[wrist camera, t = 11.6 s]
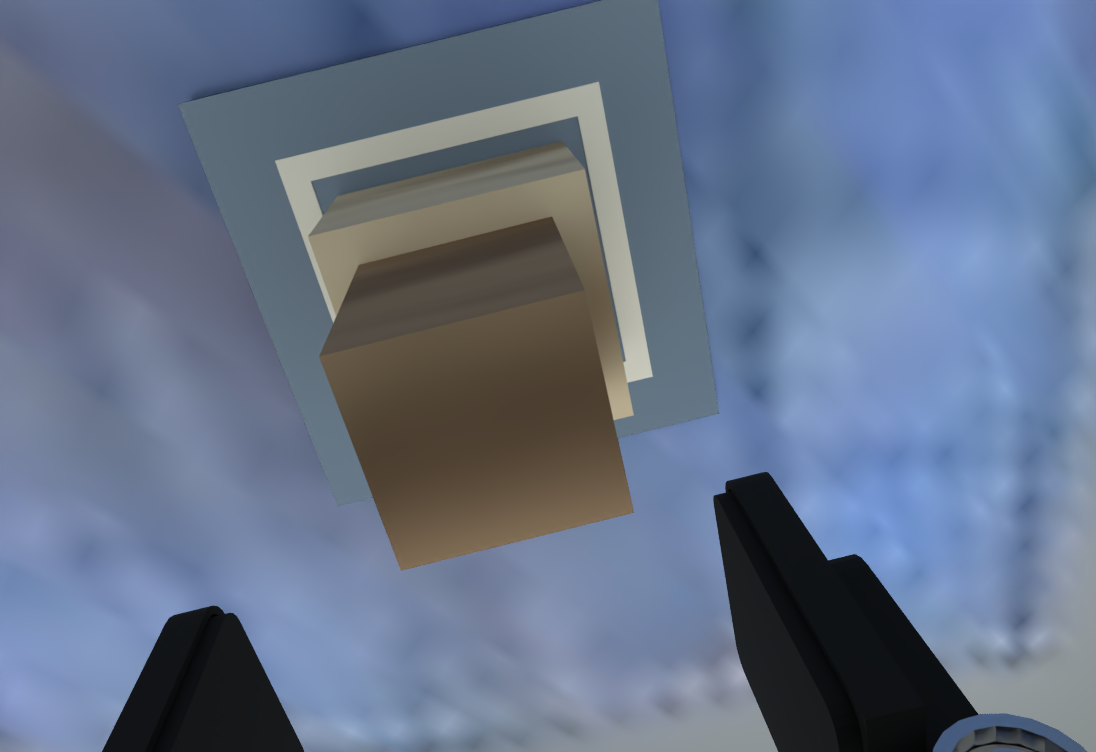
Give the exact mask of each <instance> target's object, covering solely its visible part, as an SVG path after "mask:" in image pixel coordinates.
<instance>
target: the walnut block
mask: <svg viewBox="0 0 1096 752" xmlns="http://www.w3.org/2000/svg"><path fill="white" fill-rule="evenodd" d="M319 358H320V361H321V363H322V366H323V368H324V371H325V374H326V376H327V379H328V381H329V384H330V387H331V389H332V392H333V394H334V397H335V400H336V402H337V405H338V408H339V410H340V413H341V415H342V418H343V421H344V423H345V426H346V428H347V431H348V434H349V436H350V439H351V441H352V444H353V447H354V449H355V452H356V454H357V457H358V460H359V462H360V465H361V467H362V470H363V473H364V475H365V478H366V480H367V483H368V486H369V488H370V491H371V493H372V496H373V499H374V501H375V504H376V507H377V509H378V512H379V514H380V517H381V520H382V522H383V525H384V527H385V530H386V533H387V535H388V538H389V540H390V543H391V546H392V548H393V551H394V553H395V556H396V559H397V561H398V564H399V566H400V569H401V570H405V569H409V568H413V567H417V566H421V565H425V564H429V563H433V562H437V561H441V560H445V559H450V558H454V557H458V556H462V555H466V554H470V553H474V552H478V551H482V550H486V549H490V548H494V547H498V546H502V545H506V544H510V543H514V542H518V541H522V540H526V539H530V538H534V537H538V536H542V535H546V534H550V533H554V532H558V531H562V530H566V529H570V528H574V527H578V526H582V525H586V524H590V523H594V522H598V521H602V520H606V519H610V518H614V517H618V516H622V515H626V514H630V513H634V511H633V506H632V501H631V497H630V492H629V488H628V483H627V479H626V474H625V470H624V465H623V461H622V456H621V452H620V447H619V442H618V438H617V433H616V429H615V424H614V420H613V415H612V411H611V406H610V402H609V397H608V393H607V388H606V383H605V379H604V374H603V370H602V365H601V361H600V356H599V352H598V347H597V343H596V338H595V333H594V329H593V324H592V320H591V315H590V311H589V306H588V302H587V297H586V293H585V289H584V287H583V285H582V282H581V280H580V278H579V276H578V273H577V271H576V269H575V267H574V264H573V262H572V260H571V258H570V255H569V253H568V251H567V249H566V246H565V244H564V242H563V240H562V238H561V235H560V233H559V231H558V229H557V226H556V224H555V222H554V220H553V217H548V218H544V219H540V220H536V221H532V222H528V223H524V224H520V225H516V226H512V227H508V228H504V229H500V230H496V231H492V232H488V233H484V234H480V235H476V236H472V237H468V238H464V239H460V240H456V241H452V242H448V243H444V244H440V245H436V246H432V247H428V248H424V249H420V250H416V251H412V252H408V253H404V254H400V255H396V256H392V257H388V258H384V259H381V260H377V261H373V262H369V263H365V264H361V265H358V267H357V270H356V272H355V274H354V277H353V279H352V281H351V284H350V286H349V288H348V291H347V293H346V295H345V298H344V300H343V302H342V304H341V307H340V309H339V311H338V314H337V316H336V318H335V321H334V323H333V325H332V328H331V330H330V332H329V335H328V337H327V339H326V342H325V344H324V346H323V348H322V351H321V353H320V355H319Z"/></svg>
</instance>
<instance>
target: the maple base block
mask: <svg viewBox="0 0 1096 752" xmlns="http://www.w3.org/2000/svg"><path fill="white" fill-rule="evenodd" d="M548 217H553V220H554V222H555V224H556V226H557V229H558V231H559V233H560V235H561V238H562V240H563V242H564V244H565V246H566V249H567V251H568V253H569V255H570V258H571V260H572V262H573V264H574V267H575V269H576V271H577V273H578V276H579V278H580V280H581V282H582V285H583V287H584V289H585V293H586V297H587V302H588V306H589V311H590V315H591V320H592V324H593V329H594V333H595V338H596V343H597V347H598V352H599V356H600V361H601V365H602V370H603V374H604V379H605V383H606V388H607V393H608V397H609V402H610V406H611V411H612V415H613V420H617V419H621V418H625V417H629V416H633V415H634V414H633V409H632V404H631V399H630V394H629V389H628V384H627V379H626V374H625V369H624V364H623V358H622V353H621V348H620V343H619V338H618V333H617V328H616V323H615V318H614V313H613V308H612V303H611V298H610V293H609V288H608V283H607V278H606V273H605V268H604V263H603V258H602V253H601V248H600V243H599V238H598V233H597V228H596V222H595V217H594V212H593V207H592V202H591V197H590V192H589V187H588V182H587V177H586V172H585V169H584V167H583V166H582V165H581V164H580V162H579V161H578V160H577V159H576V157H575V156H574V155H573V154H572V153H571V151H570V150H569V149H568V148H567V146H566V145H565V144H564V143H563V141H560V142H556V143H552V144H548V145H544V146H540V147H536V148H532V149H527V150H523V151H519V152H515V153H511V154H507V155H503V156H499V157H495V158H491V159H486V160H482V161H478V162H474V163H470V164H466V165H462V166H458V167H454V168H449V169H445V170H441V171H437V172H433V173H429V174H425V175H421V176H417V177H413V178H408V179H404V180H400V181H396V182H392V183H388V184H384V185H380V186H376V187H372V188H367V189H363V190H359V191H355V192H351V193H347V194H343V195H339V196H337V197H336V198H335V200H334V201H333V202H332V204H331V205H330V207H329V208H328V209H327V211H326V212H325V214H324V215H323V216H322V218H321V219H320V220H319V222H318V223H317V225H316V226H315V227H314V229H313V230H312V232H311V233H310V234H309V236H308V238H309V241H310V244H311V247H312V250H313V252H314V255H315V258H316V261H317V264H318V266H319V269H320V272H321V275H322V278H323V280H324V283H325V286H326V289H327V292H328V294H329V297H330V300H331V303H332V306H333V308H334V311H335V314H336V316H337V314H338V311H339V309H340V307H341V304H342V302H343V300H344V298H345V295H346V293H347V291H348V288H349V286H350V284H351V281H352V279H353V277H354V274H355V272H356V270H357V267H358V265H361V264H365V263H369V262H373V261H377V260H381V259H384V258H388V257H392V256H396V255H400V254H404V253H408V252H412V251H416V250H420V249H424V248H428V247H432V246H436V245H440V244H444V243H448V242H452V241H456V240H460V239H464V238H468V237H472V236H476V235H480V234H484V233H488V232H492V231H496V230H500V229H504V228H508V227H512V226H516V225H520V224H524V223H528V222H532V221H536V220H540V219H544V218H548Z"/></svg>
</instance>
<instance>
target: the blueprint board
mask: <svg viewBox="0 0 1096 752" xmlns="http://www.w3.org/2000/svg"><path fill="white" fill-rule="evenodd" d="M178 107H179V109H180V112H181V114H182V117H183V119H184V122H185V124H186V127H187V129H188V132H189V134H190V137H191V139H192V142H193V144H194V147H195V149H196V152H197V154H198V157H199V159H200V162H201V164H202V167H203V169H204V172H205V174H206V177H207V179H208V182H209V184H210V187H211V189H212V192H213V194H214V197H215V199H216V202H217V204H218V207H219V210H220V212H221V215H222V217H223V220H224V222H225V225H226V227H227V230H228V232H229V235H230V237H231V240H232V242H233V245H234V247H235V250H236V252H237V255H238V257H239V260H240V262H241V265H242V267H243V270H244V272H245V275H246V277H247V280H248V282H249V285H250V287H251V290H252V292H253V295H254V297H255V300H256V302H257V305H258V307H259V310H260V312H261V315H262V317H263V320H264V322H265V325H266V327H267V330H268V332H269V335H270V337H271V340H272V342H273V345H274V347H275V350H276V352H277V355H278V357H279V360H280V362H281V365H282V368H283V370H284V373H285V375H286V378H287V380H288V383H289V385H290V388H291V390H292V393H293V395H294V398H295V400H296V403H297V405H298V408H299V410H300V413H301V415H302V418H303V420H304V423H305V425H306V428H307V430H308V433H309V435H310V438H311V440H312V443H313V445H314V448H315V450H316V453H317V455H318V458H319V460H320V463H321V465H322V468H323V470H324V473H325V475H326V478H327V480H328V483H329V485H330V488H331V490H332V493H333V495H334V498H335V500H336V503H337V505H338V506H340V505H344V504H348V503H352V502H356V501H361V500H365V499H369V498H373V496H372V493H371V491H370V488H369V486H368V483H367V480H366V478H365V475H364V473H363V470H362V467H361V465H360V462H359V460H358V457H357V454H356V452H355V449H354V447H353V444H352V441H351V439H350V436H349V434H348V431H347V428H346V426H345V423H344V421H343V418H342V415H341V413H340V410H339V408H338V405H337V402H336V400H335V397H334V394H333V392H332V389H331V387H330V384H329V381H328V379H327V376H326V374H325V371H324V368H323V366H322V363H321V361H320V358H319V355H320V353H321V351H322V348H323V346H324V344H325V342H326V339H327V337H328V335H329V332H330V330H331V328H332V325H333V323H334V321H335V318H336V314H335V311H334V308H333V306H332V303H331V300H330V297H329V294H328V292H327V289H326V286H325V283H324V280H323V278H322V275H321V272H320V269H319V266H318V264H317V261H316V258H315V255H314V252H313V250H312V247H311V244H310V241H309V238H308V236H309V234H310V233H311V232H312V230H313V229H314V227H315V226H316V225H317V223H318V222H319V220H320V219H321V218H322V216H323V215H324V214H325V212H326V211H327V209H328V208H329V207H330V205H331V204H332V202H333V201H334V200H335V198H336V197H337V196H339V195H343V194H347V193H351V192H355V191H359V190H363V189H367V188H372V187H376V186H380V185H384V184H388V183H392V182H396V181H400V180H404V179H408V178H413V177H417V176H421V175H425V174H429V173H433V172H437V171H441V170H445V169H449V168H454V167H458V166H462V165H466V164H470V163H474V162H478V161H482V160H486V159H491V158H495V157H499V156H503V155H507V154H511V153H515V152H519V151H523V150H527V149H532V148H536V147H540V146H544V145H548V144H552V143H556V142H560V141H563V143H564V144H565V145H566V146H567V148H568V149H569V150H570V151H571V153H572V154H573V155H574V156H575V157H576V159H577V160H578V161H579V162H580V164H581V165H582V166H583V167H584V169H585V172H586V177H587V182H588V187H589V192H590V197H591V202H592V207H593V212H594V217H595V222H596V228H597V233H598V238H599V243H600V248H601V253H602V258H603V263H604V268H605V273H606V278H607V283H608V288H609V293H610V298H611V303H612V308H613V313H614V318H615V323H616V328H617V333H618V338H619V343H620V348H621V353H622V358H623V364H624V369H625V374H626V379H627V384H628V389H629V394H630V399H631V404H632V409H633V414H634V415H633V416H629V417H625V418H621V419H617V420H614V424H615V429H616V433H617V438H620V437H625V436H629V435H633V434H637V433H641V432H645V431H649V430H653V429H658V428H662V427H666V426H670V425H674V424H678V423H682V422H686V421H691V420H695V419H699V418H703V417H707V416H711V415H715V414H719V410H718V403H717V397H716V390H715V383H714V376H713V369H712V363H711V356H710V349H709V342H708V335H707V329H706V322H705V315H704V308H703V301H702V295H701V288H700V281H699V274H698V268H697V261H696V254H695V247H694V240H693V234H692V227H691V220H690V213H689V206H688V200H687V193H686V186H685V179H684V172H683V166H682V159H681V152H680V145H679V138H678V132H677V125H676V118H675V111H674V104H673V98H672V91H671V84H670V77H669V70H668V64H667V57H666V50H665V43H664V36H663V30H662V23H661V16H660V9H659V2H658V0H600V1H596V2H592V3H587V4H583V5H579V6H575V7H571V8H567V9H563V10H559V11H555V12H551V13H547V14H542V15H538V16H534V17H530V18H526V19H522V20H518V21H514V22H510V23H506V24H502V25H497V26H493V27H489V28H485V29H481V30H477V31H473V32H469V33H465V34H461V35H457V36H452V37H448V38H444V39H440V40H436V41H432V42H428V43H424V44H420V45H416V46H412V47H407V48H403V49H399V50H395V51H391V52H387V53H383V54H379V55H375V56H371V57H367V58H362V59H358V60H354V61H350V62H346V63H342V64H338V65H334V66H330V67H326V68H322V69H317V70H313V71H309V72H305V73H301V74H297V75H293V76H289V77H285V78H281V79H277V80H272V81H268V82H264V83H260V84H256V85H252V86H248V87H244V88H240V89H236V90H232V91H227V92H223V93H219V94H215V95H211V96H207V97H203V98H199V99H195V100H191V101H187V102H184V103H180V104H178Z"/></svg>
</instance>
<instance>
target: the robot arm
mask: <svg viewBox="0 0 1096 752" xmlns="http://www.w3.org/2000/svg"><path fill="white" fill-rule="evenodd" d="M725 489H726V493H723V494H719V495H714V508H715V515H716V521H717V527H718V533H719V540H720V546H721V552H722V559H723V565H724V571H725V577H726V584H727V590H728V596H729V603H730V609H731V615H732V622H733V628H734V634H735V640H736V646H737V650H738V654H739V658H740V661H741V664H742V667H743V670H744V673H745V675H746V677H747V680H748V682H749V684H750V687H751V689H752V691H753V694H754V696H755V698H756V701H757V703H758V705H759V708H760V710H761V712H762V715H763V717H764V719H765V722H766V724H767V726H768V728H769V731H770V733H771V736H772V738H773V740H774V743H775V745H776V747H777V750H778V752H1087V751H1086V750H1085V749H1084V748H1083V747H1082V746H1081V745H1080V744H1078V743H1077V742H1075V741H1074V740H1072V739H1071V738H1069V737H1068V736H1066V735H1065V734H1063V733H1062V732H1061V731H1059V730H1057V729H1055V728H1052V727H1050V726H1048V725H1045V724H1043V723H1041V722H1038V721H1036V720H1033V719H1030V718H1024V717H1020V716H1015V715H1010V714H979V715H978V713H977V712H976V711H975V709H974V708H973V706H972V705H971V704H970V702H969V701H968V700H967V698H966V697H965V696H964V694H963V693H962V692H961V690H960V689H959V687H958V686H957V685H956V683H955V682H954V681H953V679H952V678H951V677H950V675H949V674H948V673H947V671H946V670H945V669H944V667H943V666H942V665H941V663H940V662H939V660H938V659H937V658H936V656H935V655H934V654H933V652H932V651H931V650H930V648H929V647H928V646H927V644H926V643H925V642H924V640H923V639H922V638H921V636H920V635H919V633H918V632H917V631H916V629H915V628H914V627H913V625H912V624H911V623H910V621H909V620H908V619H907V617H906V616H905V615H904V613H903V612H902V610H901V609H900V608H899V606H898V605H897V604H896V602H895V601H894V600H893V598H892V597H891V596H890V594H889V593H888V592H887V590H886V589H885V588H884V586H883V585H882V583H881V582H880V581H879V579H878V578H877V577H876V575H875V574H874V573H873V571H872V570H871V569H870V567H869V566H868V565H867V564H866V562H865V561H864V560H863V559H862V558H861V557H859V556H857V555H855V554H853V555H849V556H845V557H841V558H837V559H833V560H827V558H826V557H825V555H824V554H823V552H822V551H821V549H820V548H819V546H818V545H817V543H816V542H815V540H814V539H813V537H812V536H811V534H810V533H809V531H808V530H807V529H806V527H805V526H804V524H803V523H802V521H801V520H800V518H799V517H798V515H797V514H796V512H795V511H794V509H793V508H792V506H791V505H790V503H789V502H788V500H787V499H786V497H785V496H784V494H783V493H782V491H781V490H780V488H779V487H778V485H777V484H776V482H775V481H774V479H773V478H772V477H771V475H770V474H769V473H768V472H763V473H759V474H755V475H751V476H746V477H742V478H738V479H734V480H730V481H727V482H726V487H725ZM102 752H304V750H303V747H302V745H301V743H300V741H299V739H298V737H297V735H296V733H295V731H294V729H293V727H292V725H291V723H290V721H289V719H288V717H287V715H286V713H285V711H284V709H283V707H282V705H281V703H280V701H279V699H278V697H277V695H276V693H275V691H274V689H273V687H272V685H271V683H270V681H269V679H268V677H267V675H266V673H265V671H264V669H263V667H262V665H261V663H260V661H259V659H258V657H257V655H256V653H255V651H254V649H253V647H252V645H251V643H250V641H249V639H248V637H247V635H246V633H245V631H244V629H243V627H242V625H241V623H240V621H239V619H238V618H237V616H236V615H235V614H233V613H227V614H224V612H223V610H222V609H220V608H219V607H218V606H210V607H206V608H201V609H197V610H193V611H189V612H185V613H181V614H177V615H174V616H172V617H170V618H169V619H168V621H167V622H166V623H165V625H164V628H163V630H162V632H161V634H160V636H159V638H158V640H157V642H156V644H155V646H154V648H153V650H152V652H151V654H150V656H149V658H148V660H147V662H146V664H145V666H144V668H143V670H142V672H141V674H140V676H139V678H138V680H137V682H136V684H135V686H134V688H133V690H132V692H131V694H130V696H129V698H128V700H127V702H126V704H125V706H124V708H123V710H122V712H121V714H120V716H119V718H118V720H117V722H116V724H115V727H114V729H113V731H112V733H111V735H110V737H109V739H108V741H107V743H106V745H105V747H104V749H103V751H102Z"/></svg>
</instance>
